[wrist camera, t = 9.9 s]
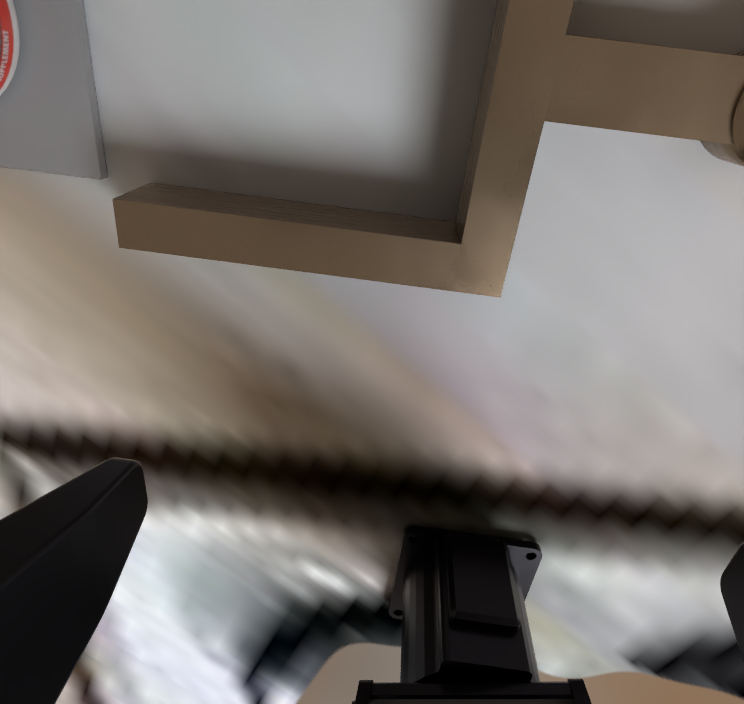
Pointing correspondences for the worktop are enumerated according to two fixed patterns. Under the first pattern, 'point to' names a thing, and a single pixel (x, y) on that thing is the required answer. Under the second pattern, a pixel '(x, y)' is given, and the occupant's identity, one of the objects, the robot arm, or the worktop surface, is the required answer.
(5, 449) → the worktop surface
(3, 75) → the pill bottle
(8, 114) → the coaster
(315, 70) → the worktop surface
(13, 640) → the robot arm
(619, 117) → the ball knob bracket
